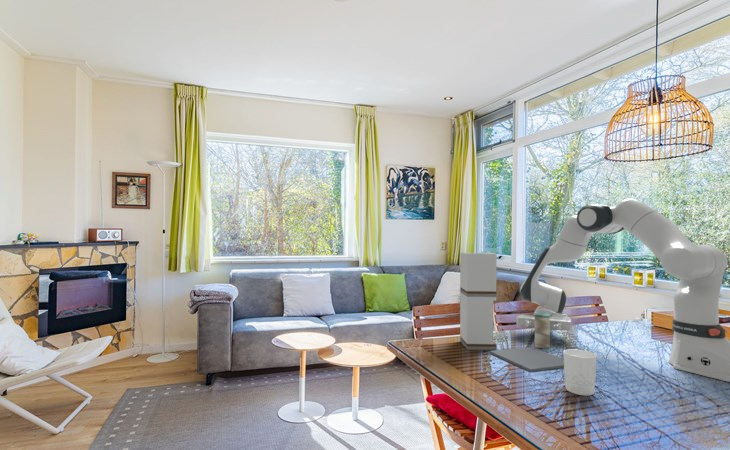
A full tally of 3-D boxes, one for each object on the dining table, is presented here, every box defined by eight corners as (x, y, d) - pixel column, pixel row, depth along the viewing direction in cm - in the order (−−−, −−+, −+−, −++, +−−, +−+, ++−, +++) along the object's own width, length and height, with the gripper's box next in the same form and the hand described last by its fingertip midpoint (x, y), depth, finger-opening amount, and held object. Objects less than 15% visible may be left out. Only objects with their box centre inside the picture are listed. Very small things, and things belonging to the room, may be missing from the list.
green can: (549, 345, 150) (549, 313, 151) (549, 348, 146) (549, 315, 146) (535, 343, 152) (535, 312, 153) (534, 346, 148) (534, 314, 148)
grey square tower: (496, 350, 143) (496, 253, 144) (467, 349, 144) (467, 253, 145) (487, 341, 155) (487, 252, 156) (460, 341, 155) (460, 252, 156)
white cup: (567, 383, 111) (566, 347, 112) (599, 390, 106) (599, 352, 107) (560, 391, 105) (559, 353, 105) (593, 399, 100) (593, 359, 100)
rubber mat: (576, 366, 126) (576, 363, 126) (530, 371, 120) (530, 369, 120) (531, 349, 145) (531, 346, 145) (489, 353, 139) (489, 351, 139)
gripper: (517, 309, 169) (513, 315, 156) (571, 314, 160) (572, 320, 147) (517, 324, 168) (514, 331, 156) (571, 329, 159) (572, 337, 147)
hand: (542, 326), depth 152 cm, fingers open, 8 cm apart
